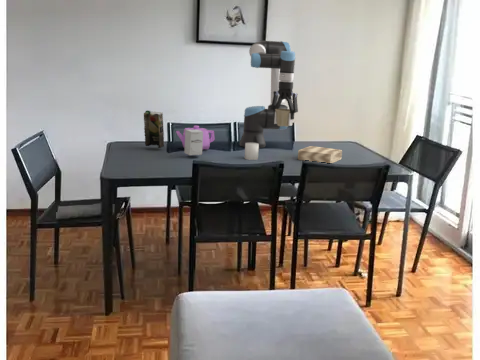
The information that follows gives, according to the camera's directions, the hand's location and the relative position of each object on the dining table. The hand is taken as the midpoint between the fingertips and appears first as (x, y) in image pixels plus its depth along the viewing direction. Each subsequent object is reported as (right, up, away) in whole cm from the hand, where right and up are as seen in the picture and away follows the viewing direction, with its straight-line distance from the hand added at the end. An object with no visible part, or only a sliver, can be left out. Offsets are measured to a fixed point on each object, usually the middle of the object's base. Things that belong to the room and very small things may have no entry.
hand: (283, 124), depth 303 cm
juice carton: (-71, -11, +13) cm, 73 cm away
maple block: (+20, -18, +2) cm, 27 cm away
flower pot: (0, -1, 0) cm, 1 cm away
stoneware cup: (-17, -18, -6) cm, 26 cm away
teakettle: (-48, -12, +18) cm, 53 cm away
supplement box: (-48, -16, -2) cm, 50 cm away
